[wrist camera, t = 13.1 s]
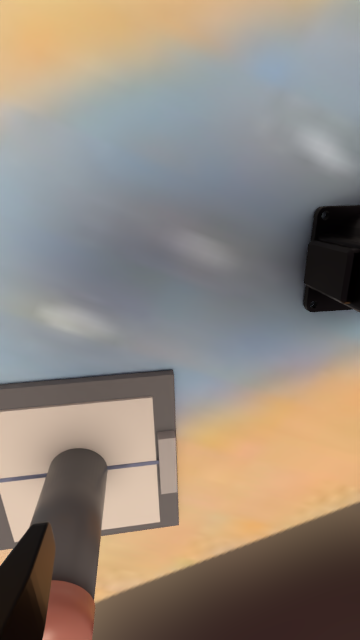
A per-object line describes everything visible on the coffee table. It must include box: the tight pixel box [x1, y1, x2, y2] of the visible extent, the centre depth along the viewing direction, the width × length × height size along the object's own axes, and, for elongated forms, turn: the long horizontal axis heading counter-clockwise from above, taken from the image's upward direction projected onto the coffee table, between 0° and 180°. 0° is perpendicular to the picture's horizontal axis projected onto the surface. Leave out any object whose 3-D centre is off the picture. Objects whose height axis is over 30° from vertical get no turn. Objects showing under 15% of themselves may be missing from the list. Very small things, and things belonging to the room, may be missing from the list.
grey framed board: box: [0, 370, 179, 550], centre depth 23 cm, size 14×14×1 cm
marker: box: [29, 448, 108, 640], centre depth 18 cm, size 4×4×10 cm
